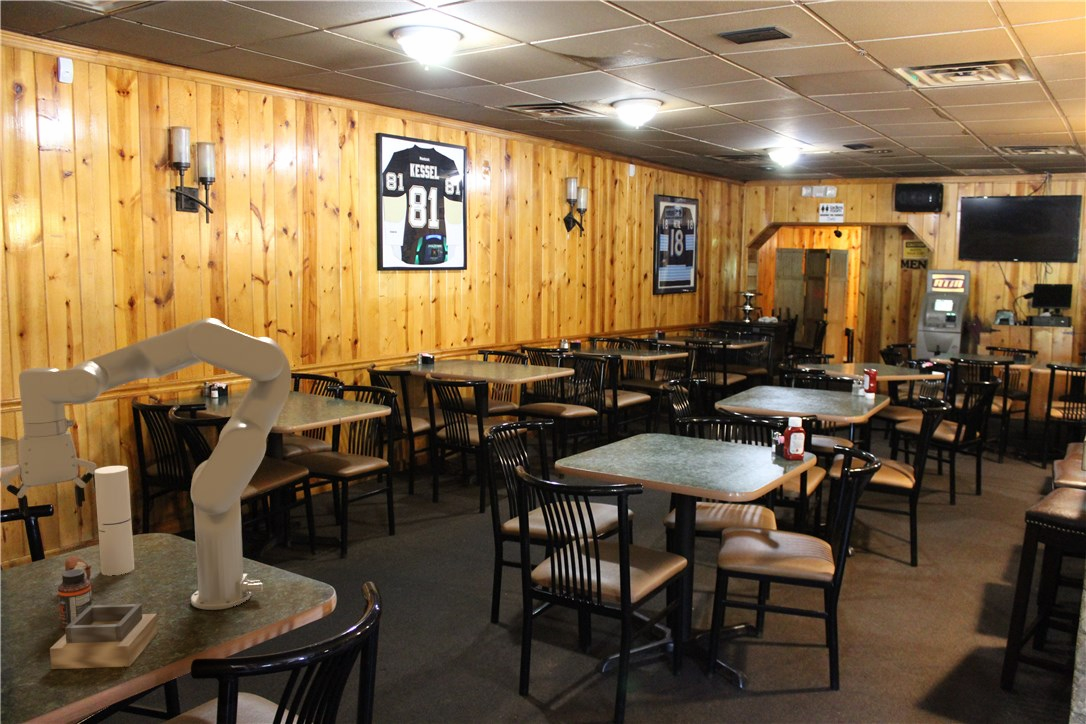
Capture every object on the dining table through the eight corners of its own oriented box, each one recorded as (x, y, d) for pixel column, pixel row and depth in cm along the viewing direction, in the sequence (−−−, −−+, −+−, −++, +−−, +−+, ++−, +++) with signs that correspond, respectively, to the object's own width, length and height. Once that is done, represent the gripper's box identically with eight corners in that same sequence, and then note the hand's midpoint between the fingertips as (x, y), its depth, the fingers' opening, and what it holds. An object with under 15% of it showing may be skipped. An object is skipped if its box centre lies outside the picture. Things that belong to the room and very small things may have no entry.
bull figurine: (73, 604, 184) (70, 569, 183) (65, 585, 195) (62, 551, 194) (95, 600, 187) (93, 564, 186) (86, 580, 197) (83, 547, 196)
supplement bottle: (56, 624, 174) (52, 572, 173) (87, 615, 179) (83, 564, 177) (66, 633, 170) (62, 580, 169) (97, 624, 175) (94, 572, 173)
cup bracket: (157, 632, 171) (155, 599, 170) (129, 666, 157) (127, 630, 156) (86, 634, 170) (83, 601, 169) (51, 669, 156) (48, 633, 155)
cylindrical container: (125, 575, 200) (118, 473, 197) (95, 575, 200) (88, 473, 197) (139, 564, 207) (133, 465, 204) (111, 564, 207) (104, 465, 204)
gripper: (89, 420, 179) (96, 497, 182) (-7, 431, 169) (1, 514, 171) (96, 425, 173) (103, 506, 176) (-3, 438, 163) (5, 523, 165)
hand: (53, 510), depth 173 cm, fingers open, 9 cm apart
